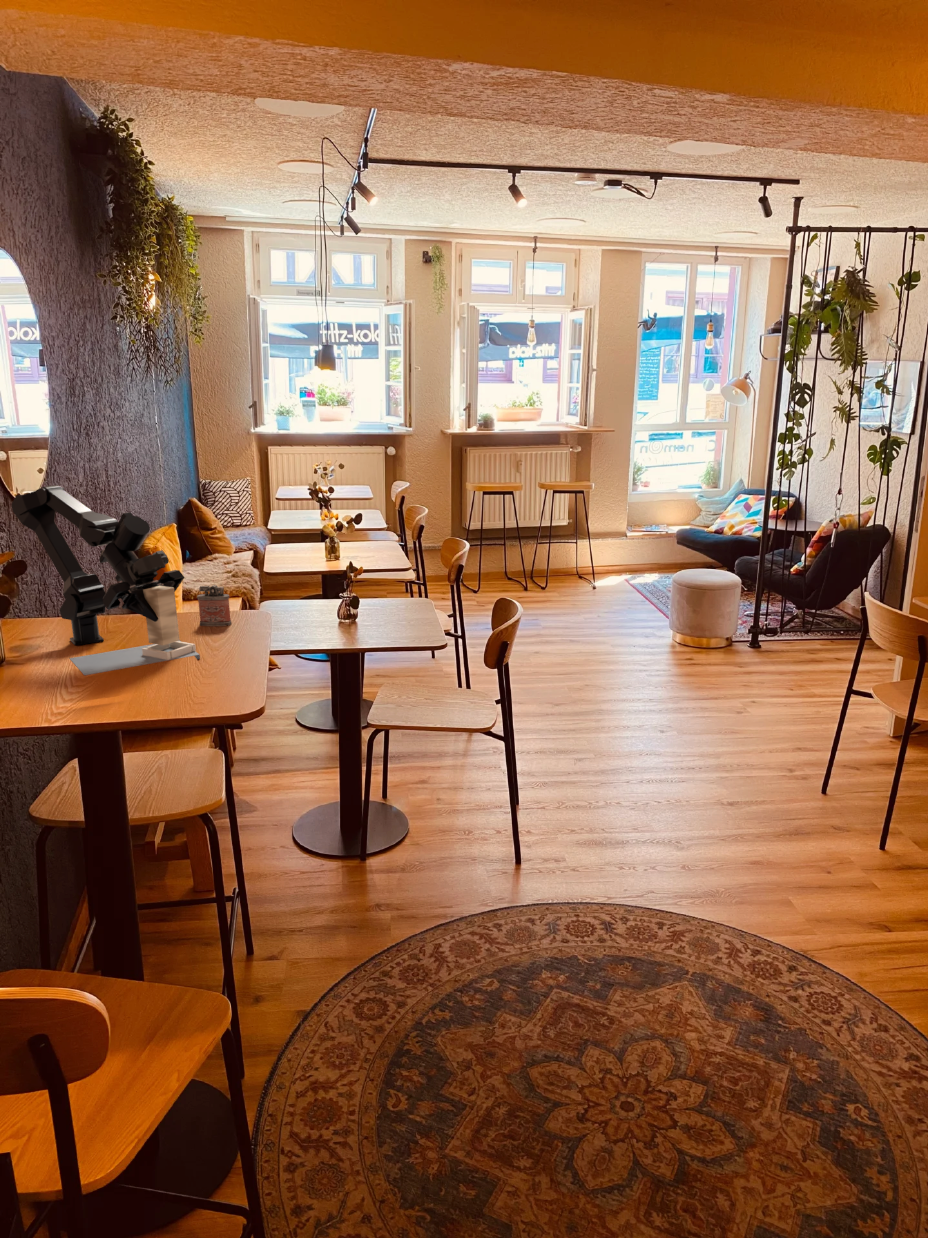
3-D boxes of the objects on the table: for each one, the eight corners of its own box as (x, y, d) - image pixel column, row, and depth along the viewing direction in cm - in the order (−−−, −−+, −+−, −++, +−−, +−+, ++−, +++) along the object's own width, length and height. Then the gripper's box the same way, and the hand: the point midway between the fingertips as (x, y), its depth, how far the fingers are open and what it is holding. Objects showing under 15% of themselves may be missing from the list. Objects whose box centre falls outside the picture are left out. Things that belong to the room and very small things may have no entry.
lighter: (233, 622, 229) (230, 584, 226) (228, 626, 226) (225, 587, 223) (202, 622, 230) (199, 584, 227) (197, 625, 226) (193, 587, 224)
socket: (142, 655, 199) (141, 648, 198) (171, 646, 205) (170, 639, 205) (167, 660, 195) (167, 653, 194) (195, 650, 201) (195, 644, 201)
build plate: (70, 662, 198) (69, 658, 197) (179, 643, 211) (178, 639, 210) (85, 679, 186) (84, 675, 185) (200, 658, 199) (199, 654, 198)
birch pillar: (148, 642, 199) (142, 589, 196) (165, 637, 203) (159, 585, 200) (163, 645, 197) (157, 591, 194) (179, 640, 201) (174, 587, 198)
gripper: (104, 547, 189) (146, 604, 186) (174, 534, 204) (213, 586, 201) (85, 581, 195) (125, 636, 192) (154, 565, 210) (192, 617, 207)
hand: (165, 617), depth 198 cm, fingers closed on birch pillar, 5 cm apart
